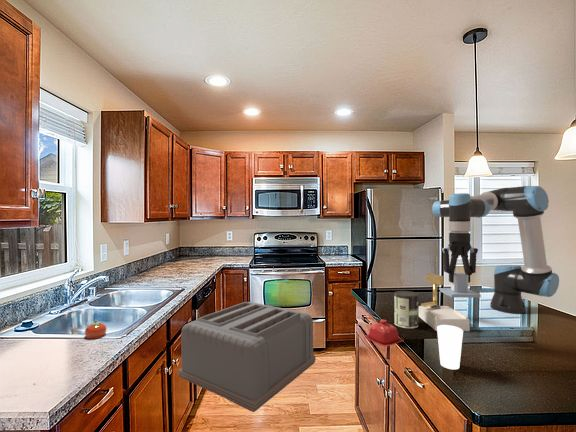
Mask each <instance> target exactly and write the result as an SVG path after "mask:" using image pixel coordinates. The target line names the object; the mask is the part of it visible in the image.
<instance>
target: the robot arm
mask: <svg viewBox="0 0 576 432" xmlns="http://www.w3.org/2000/svg"><path fill="white" fill-rule="evenodd" d="M549 204H550V200H549V196H548V193H547V192H546V190H545V189H544V188H543V187H542V186H539V185H523V186H513V187H512V186H511V187H502V188H498V189H497V188H496V189H493V190H489V191H485V192H482V193H481V194H477V195H472V196H471V194H470V193H468V192H467V193H465V192H464V193H463V192H461V193H459V192H458V193H451V194H450V195H449V197H448V199H447V200H446V199H445V200H443V199H442V200H436V201H434V202H433V204H432V205H431V211H432V215H434V216H435V217H436V218H438V217H439V218H449V219H448V230H449V233H448V245H447V246H446V247H442V248H441V252H442V258H443V260H442V261H443V272H444V273H446V274H448V282H449V283H450V288H451V290H452V291H456V275H455V274H454V273H456V272H455V271H456V267H457V262H458V259H459V257H460V258H461V260H462V261H461V262H462V266H463V270H464V274H467V292H468V289H469V284H470V283H471V276H472V274H476V271H477V270H476V268H477V254H478V251H479V249H478V248H476V247H473V246H472V245H471V233H470V232H471V218H479V219H481V218H484V217H486V216H487V215H488V214H489V213H490V212H491V211H497V212H498V211H499V212H512V216H513V218H516V219H517V222H518V229H519V238H520V243H521V244H520V245H521V249H522V257H523V263H524V265H523V266H521V265H517V264H506V265H503V264H502V265H497V266H495V267H494V272H493V278H494V279H493V283H494V284H493V285H494V287H493V289H494V290H493V291H494V293H493V295H492V298H491V301H490V308H491V309H493V310H495V311H499V312H503V313H509V314H525V313H526V306H525V303H524V300H523V297H522V293H524V294H529V295H535V296H539V297H547V298H551V297H553V296H554V295H555V294H556V292H557V291H558V290H559V289H558V288H559V285H560V276H559V275H558V274H557V273H555V272H553V268H552V267H551V266H550V265H548V262H547V255H546V249H545V242H544V241H545V240H544V234H543V226H542V220H541V217H542V216H543V215H544V213H545V211H546V210H547V209H548V208H549ZM450 252H451V253H450ZM468 253H469V254H468ZM450 254H451V255H450ZM450 256H451V258H450Z"/></svg>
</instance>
